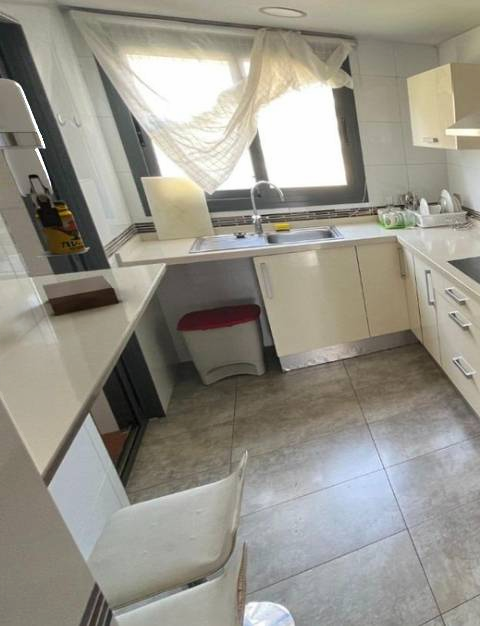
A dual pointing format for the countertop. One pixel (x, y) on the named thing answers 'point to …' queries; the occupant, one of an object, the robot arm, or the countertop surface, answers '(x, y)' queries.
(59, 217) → the robot arm
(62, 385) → the countertop surface
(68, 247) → the condiment
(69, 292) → the brown wooden base
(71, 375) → the countertop surface
